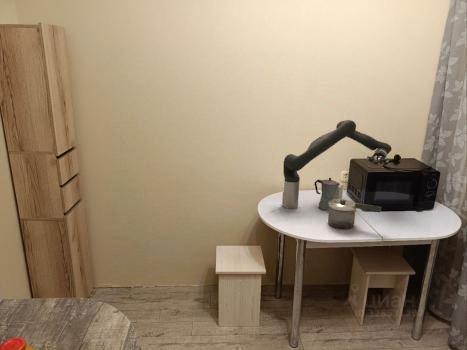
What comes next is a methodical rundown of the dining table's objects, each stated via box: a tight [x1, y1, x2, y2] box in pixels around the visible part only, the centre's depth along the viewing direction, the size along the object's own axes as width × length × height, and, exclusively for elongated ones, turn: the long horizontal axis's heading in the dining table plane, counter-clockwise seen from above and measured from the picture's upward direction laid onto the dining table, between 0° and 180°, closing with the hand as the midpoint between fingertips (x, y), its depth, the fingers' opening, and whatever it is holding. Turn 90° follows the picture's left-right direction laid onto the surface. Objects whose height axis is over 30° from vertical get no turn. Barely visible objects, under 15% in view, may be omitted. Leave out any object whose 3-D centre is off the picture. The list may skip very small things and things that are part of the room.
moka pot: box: [314, 177, 340, 211], centre depth 232 cm, size 10×15×20 cm, turn 78°
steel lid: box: [328, 198, 382, 213], centre depth 205 cm, size 28×15×3 cm, turn 62°
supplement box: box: [333, 182, 344, 199], centre depth 242 cm, size 7×7×13 cm
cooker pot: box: [327, 207, 357, 231], centre depth 210 cm, size 14×14×11 cm
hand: (375, 163), depth 216 cm, fingers closed
